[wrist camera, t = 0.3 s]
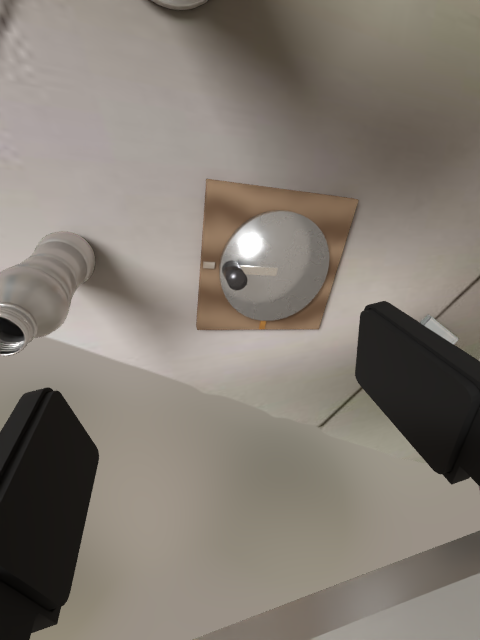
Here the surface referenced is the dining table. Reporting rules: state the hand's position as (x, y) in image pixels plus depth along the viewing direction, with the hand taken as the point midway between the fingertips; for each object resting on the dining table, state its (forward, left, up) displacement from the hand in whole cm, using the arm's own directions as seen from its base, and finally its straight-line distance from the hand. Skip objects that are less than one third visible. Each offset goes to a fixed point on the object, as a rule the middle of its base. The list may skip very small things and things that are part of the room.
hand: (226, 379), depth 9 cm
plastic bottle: (+7, -14, -34) cm, 38 cm away
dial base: (+7, +14, -34) cm, 38 cm away
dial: (+7, +14, -33) cm, 36 cm away
